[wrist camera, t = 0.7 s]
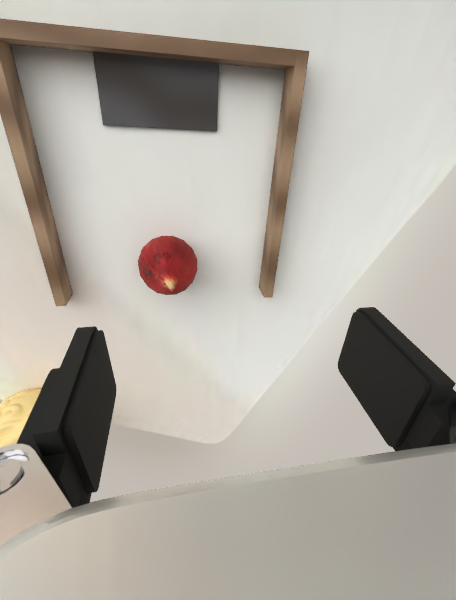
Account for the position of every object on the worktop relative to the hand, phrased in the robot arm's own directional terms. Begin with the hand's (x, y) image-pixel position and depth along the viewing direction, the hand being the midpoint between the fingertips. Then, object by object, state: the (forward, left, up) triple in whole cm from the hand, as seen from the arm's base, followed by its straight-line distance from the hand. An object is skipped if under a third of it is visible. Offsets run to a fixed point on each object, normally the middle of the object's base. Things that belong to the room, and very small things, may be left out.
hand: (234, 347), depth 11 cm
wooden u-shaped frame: (-1, -3, -24) cm, 24 cm away
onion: (+6, -3, -24) cm, 25 cm away
